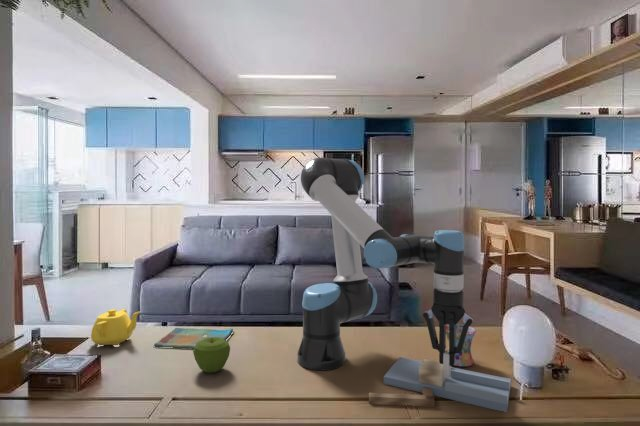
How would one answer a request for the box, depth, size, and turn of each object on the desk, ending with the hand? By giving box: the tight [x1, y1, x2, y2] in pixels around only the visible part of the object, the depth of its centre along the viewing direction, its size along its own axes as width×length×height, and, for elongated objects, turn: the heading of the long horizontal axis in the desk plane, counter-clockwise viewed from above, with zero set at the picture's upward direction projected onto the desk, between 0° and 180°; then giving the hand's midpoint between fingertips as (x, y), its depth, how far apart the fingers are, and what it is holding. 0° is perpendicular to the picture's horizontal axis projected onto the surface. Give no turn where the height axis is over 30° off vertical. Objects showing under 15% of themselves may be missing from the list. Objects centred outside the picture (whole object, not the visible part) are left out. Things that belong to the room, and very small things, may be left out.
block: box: [419, 358, 446, 387], centre depth 110 cm, size 6×6×4 cm
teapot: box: [90, 308, 142, 346], centre depth 142 cm, size 14×14×12 cm
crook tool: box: [368, 388, 435, 408], centre depth 103 cm, size 16×6×2 cm, turn 84°
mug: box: [446, 323, 477, 367], centre depth 126 cm, size 12×9×11 cm
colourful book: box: [153, 327, 234, 350], centre depth 145 cm, size 17×23×2 cm
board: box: [383, 356, 512, 413], centre depth 111 cm, size 31×15×4 cm, turn 61°
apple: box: [192, 337, 231, 374], centre depth 120 cm, size 11×10×10 cm
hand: (446, 376), depth 108 cm, fingers closed
